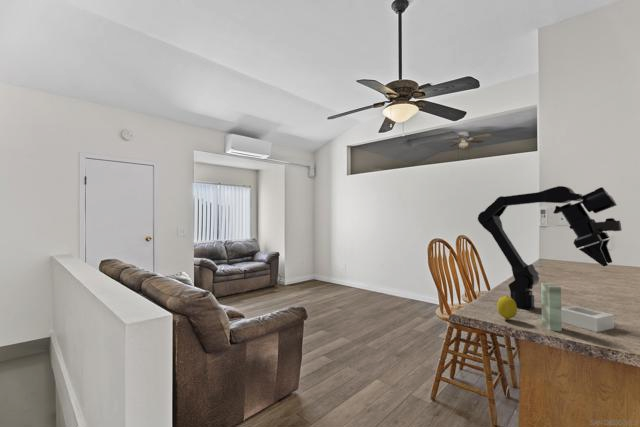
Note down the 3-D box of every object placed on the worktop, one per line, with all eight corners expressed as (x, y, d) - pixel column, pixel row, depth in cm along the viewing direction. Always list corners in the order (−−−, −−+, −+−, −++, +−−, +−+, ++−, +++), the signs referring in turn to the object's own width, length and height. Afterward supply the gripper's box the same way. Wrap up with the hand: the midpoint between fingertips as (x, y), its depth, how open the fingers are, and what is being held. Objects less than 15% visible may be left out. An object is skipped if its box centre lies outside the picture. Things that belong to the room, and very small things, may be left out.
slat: (541, 324, 94) (541, 283, 94) (552, 325, 93) (552, 283, 93) (550, 330, 89) (549, 286, 89) (561, 331, 88) (560, 287, 88)
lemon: (494, 317, 101) (493, 293, 101) (510, 317, 101) (510, 293, 101) (503, 322, 95) (503, 297, 96) (521, 322, 95) (520, 297, 95)
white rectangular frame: (557, 320, 97) (556, 308, 97) (573, 317, 100) (573, 305, 100) (597, 332, 87) (596, 318, 87) (613, 327, 90) (613, 314, 90)
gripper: (603, 208, 88) (638, 258, 83) (612, 208, 100) (644, 252, 94) (561, 224, 96) (590, 271, 90) (574, 223, 108) (601, 264, 102)
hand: (608, 264), depth 94 cm, fingers open, 9 cm apart
